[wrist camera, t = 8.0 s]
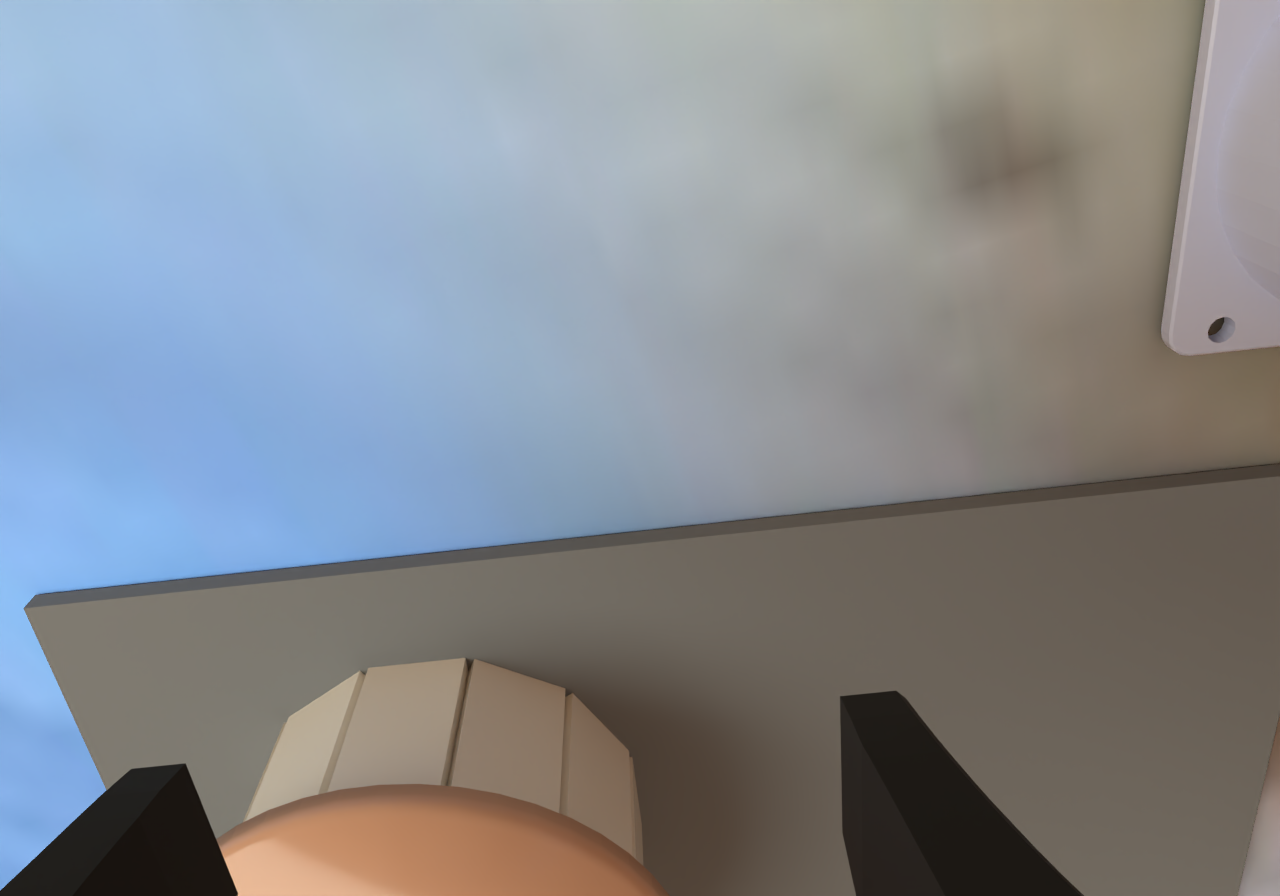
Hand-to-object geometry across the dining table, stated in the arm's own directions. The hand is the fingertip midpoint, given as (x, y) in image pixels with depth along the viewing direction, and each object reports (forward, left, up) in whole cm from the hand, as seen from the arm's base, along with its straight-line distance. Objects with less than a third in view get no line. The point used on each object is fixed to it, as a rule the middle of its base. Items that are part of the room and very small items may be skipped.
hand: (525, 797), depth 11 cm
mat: (-2, +12, -10) cm, 16 cm away
